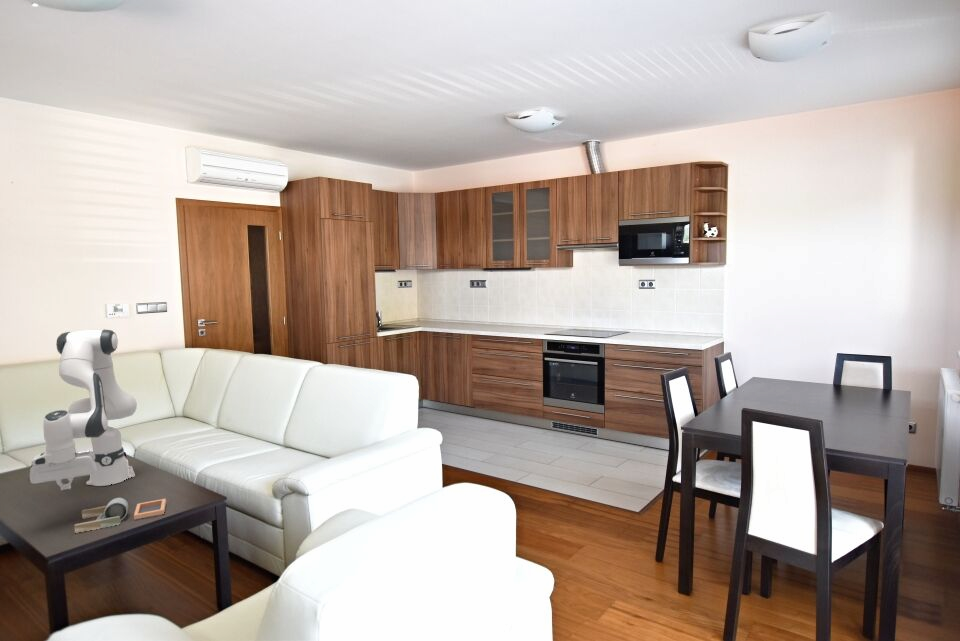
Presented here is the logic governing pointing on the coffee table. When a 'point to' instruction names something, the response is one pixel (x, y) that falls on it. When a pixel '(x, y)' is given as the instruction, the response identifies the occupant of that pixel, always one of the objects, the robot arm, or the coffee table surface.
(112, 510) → the ceramic mug
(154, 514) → the frame
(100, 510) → the channel walls
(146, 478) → the coffee table surface
